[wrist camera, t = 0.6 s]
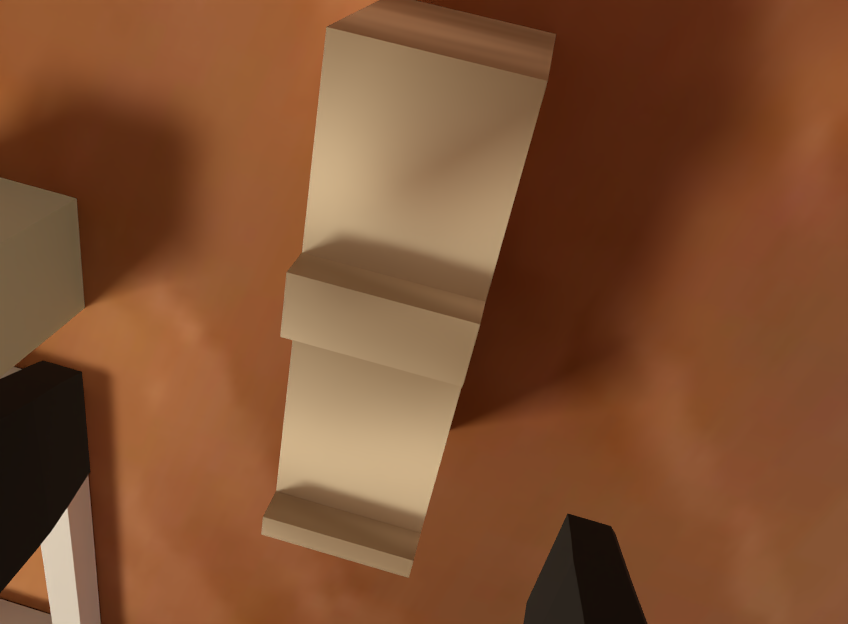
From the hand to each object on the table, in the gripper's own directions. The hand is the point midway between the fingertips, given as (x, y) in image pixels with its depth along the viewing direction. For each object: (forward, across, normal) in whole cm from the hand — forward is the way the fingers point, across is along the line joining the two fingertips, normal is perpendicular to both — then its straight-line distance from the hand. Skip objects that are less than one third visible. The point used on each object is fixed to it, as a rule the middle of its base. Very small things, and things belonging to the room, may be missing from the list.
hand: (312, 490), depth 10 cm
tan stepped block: (+9, 0, 0) cm, 9 cm away
